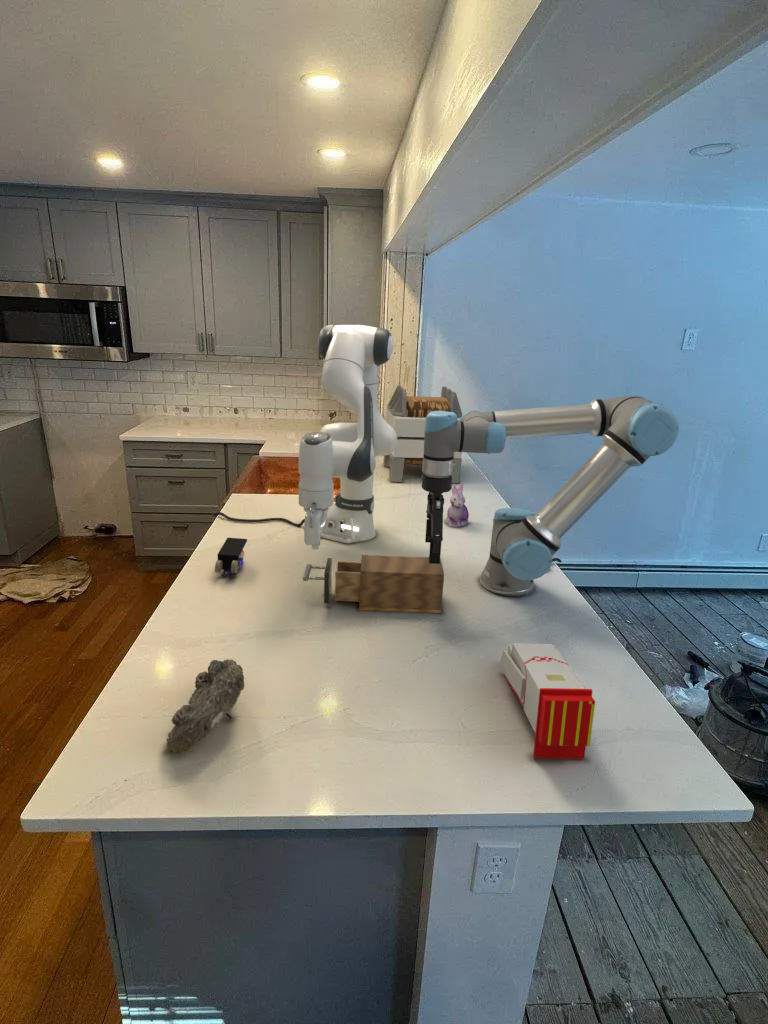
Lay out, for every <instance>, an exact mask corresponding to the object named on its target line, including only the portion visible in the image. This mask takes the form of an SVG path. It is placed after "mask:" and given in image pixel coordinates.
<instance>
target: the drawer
mask: <svg viewBox="0 0 768 1024" xmlns="http://www.w3.org/2000/svg"><path fill="white" fill-rule="evenodd" d="M336 563H337V564H336V570H335V575H334V577H335V578H334V579H335V581H334V601H337V602H358V603H359V601H360V570H361V561H348V560H347V561H346V560H345V561H344V560H337V561H336ZM304 569H305V570H304V572H303V576H302V582H308V581H309V580H310V581H323V604H325V605H330V604H329V603H330V599H331V593H332V588H333V587H332V586H333V558H332V557H327V559H326V564H325V565H324V566H323V565H322V566H321V565H312V564H311V563H308V564H306V566H305V568H304ZM312 570H324V572H323V574H324V575H323V576H311V572H312Z"/></svg>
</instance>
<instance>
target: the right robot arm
mask: <svg viewBox="0 0 768 1024" xmlns="http://www.w3.org/2000/svg"><path fill="white" fill-rule="evenodd" d="M679 431H680V430H679V421H678V418H677V416H676V414H675V413H674V411H673V410H671V409H670V408H668V407H667V406H665V405H664V404H662V403H661V402H657V401H652V400H650V399H647V398H645V397H642V396H639V395H625V396H615V397H606V398H599V399H592V400H591V401H590V402H588V403H586V404H584V403H583V404H572V405H571V404H570V405H557V406H546V407H545V406H543V407H533V408H519V409H506V410H494V411H482V412H481V411H479V410H468V411H466V412H464V413H462V417H461V418H460V421H457V415H456V414H455V413H453V412H446V411H433V412H430V413H428V415H427V416H426V424H425V434H424V456H423V466H421V468H422V469H421V471H422V473H423V474H421V488H422V490H424V491H425V492H427V493H428V494H427V504H426V510H425V512H426V525H425V539H424V540H425V543H428V544H429V552H428V553H429V554H428V555H429V556H428V557H429V564H440V558H441V555H442V554H441V552H442V542H443V541H444V537H443V536H444V534H443V531H444V530H443V529H444V505H445V498H444V495H443V494H444V493H448V492H450V491H452V485H453V483H452V476H451V474H452V472H453V467H452V466H454V465H456V463H455V462H453V459H454V452H462V453H474V454H487V455H490V454H501V453H502V452H504V449H505V447H506V441H507V440H512V439H525V438H526V439H527V438H539V437H540V438H541V437H554V436H567V435H581V434H582V435H583V434H589V435H591V436H592V437H602V445H600V447H598V449H596V450H595V452H594V453H592V455H591V456H590V457H589V458H588V459H587V460H586V461H585V462H584V463H583V465H581V466H580V467H579V469H578V470H577V471H576V472H575V473H574V474H573V475H572V476H571V477H570V478H569V479H568V480H567V481H566V483H565V484H563V486H561V488H559V490H558V491H557V492H556V493H555V494H554V495H553V496H552V497H551V498H550V499H549V500H548V502H547V503H546V504H545V505H544V506H543V507H542V508H541V509H540V510H539V511H538V512H537V513H536V512H534V511H532V510H529V509H525V508H517V507H503V508H499V509H497V510H496V511H494V515H493V518H492V529H491V539H490V548H489V557H488V559H487V561H486V563H485V565H484V568H483V570H482V572H481V574H480V579H479V582H480V585H481V586H482V587H483V588H485V589H486V590H487V591H489V592H490V593H493V594H496V595H499V596H504V597H522V596H526V595H529V594H530V593H532V592H533V590H534V584H535V580H537V579H540V578H541V577H543V576H545V575H546V574H547V573H548V572H549V570H550V568H551V567H552V563H553V562H558V563H562V560H561V558H559V557H553V556H554V555H555V554H556V553H557V552H558V551H559V550H560V548H562V538H563V537H564V536H565V534H566V533H568V532H569V530H571V528H573V526H575V524H577V522H578V521H579V520H580V519H582V517H584V515H585V514H587V512H588V511H589V510H590V509H591V508H592V507H593V506H594V505H595V504H596V503H597V502H598V501H599V500H600V499H601V498H602V497H603V496H604V495H605V494H606V493H607V492H608V491H609V490H610V489H611V488H612V487H613V486H614V485H615V484H616V483H617V481H618V480H620V479H621V477H623V476H624V474H625V473H626V472H628V471H629V469H630V468H633V467H641V466H642V465H643V464H644V463H645V462H646V461H647V460H648V459H650V457H655V456H660V455H663V454H665V453H666V452H667V451H669V450H670V449H671V448H672V447H673V446H674V444H675V442H676V440H677V438H678V435H679Z"/></svg>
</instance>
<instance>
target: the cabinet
mask: <svg viewBox="0 0 768 1024" xmlns="http://www.w3.org/2000/svg"><path fill="white" fill-rule="evenodd" d="M360 562H361V570H360V601H359V602H358V603H359V604H358V605H359V606H358V609H359V610H358V611H378V612H379V611H380V612H381V611H383V612H405V613H406V612H409V613H435V614H436V613H437V614H441V613H442V605H443V594H444V593H443V592H444V583H445V572H444V568H443V567H444V566H443V563H442V562H443V561H442V558H441V557H440V564H429V556H428V557H427V556H401V555H400V556H399V555H378V554H377V555H375V554H361V560H360Z"/></svg>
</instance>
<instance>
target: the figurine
mask: <svg viewBox="0 0 768 1024" xmlns="http://www.w3.org/2000/svg"><path fill="white" fill-rule="evenodd" d="M463 491H464V483H461V484H460V485H459V487H456V485H455V484H452V488H451V496H450V500H449V501H450V506H449V507H448V508H447V514H446V516H447V517H446V523H447V525H448V526H449V527H454V528H460V527H464V526H466V525H468V521H469V517H470V516H469V510H468V507H467V506H466V504H465V503H466V498H465V496H464V492H463Z"/></svg>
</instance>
